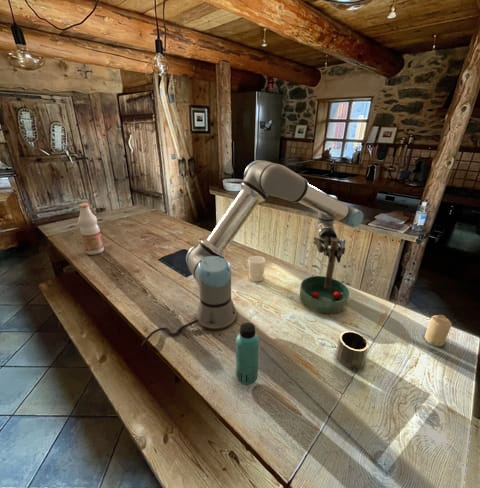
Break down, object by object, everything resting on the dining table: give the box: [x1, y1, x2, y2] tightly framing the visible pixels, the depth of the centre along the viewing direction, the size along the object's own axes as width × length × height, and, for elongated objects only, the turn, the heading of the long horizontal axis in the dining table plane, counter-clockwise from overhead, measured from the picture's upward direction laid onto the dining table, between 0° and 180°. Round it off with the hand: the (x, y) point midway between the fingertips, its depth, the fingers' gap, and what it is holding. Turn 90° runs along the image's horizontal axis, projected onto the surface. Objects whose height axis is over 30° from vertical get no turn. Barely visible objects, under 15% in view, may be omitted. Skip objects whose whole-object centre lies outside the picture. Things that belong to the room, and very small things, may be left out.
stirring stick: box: [324, 238, 339, 289], centre depth 107 cm, size 2×2×22 cm
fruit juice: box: [77, 202, 105, 256], centre depth 148 cm, size 9×9×28 cm
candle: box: [424, 314, 453, 347], centre depth 90 cm, size 6×6×10 cm
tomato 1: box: [312, 292, 319, 299], centre depth 111 cm, size 3×3×3 cm
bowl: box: [299, 275, 350, 315], centre depth 111 cm, size 19×19×6 cm
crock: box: [335, 330, 370, 370], centre depth 83 cm, size 8×8×8 cm
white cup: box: [247, 255, 266, 282], centre depth 126 cm, size 8×8×10 cm
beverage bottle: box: [235, 322, 260, 386], centre depth 73 cm, size 6×7×20 cm
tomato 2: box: [333, 292, 341, 299], centre depth 112 cm, size 3×3×3 cm
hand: (335, 258), depth 99 cm, fingers closed on stirring stick, 2 cm apart
